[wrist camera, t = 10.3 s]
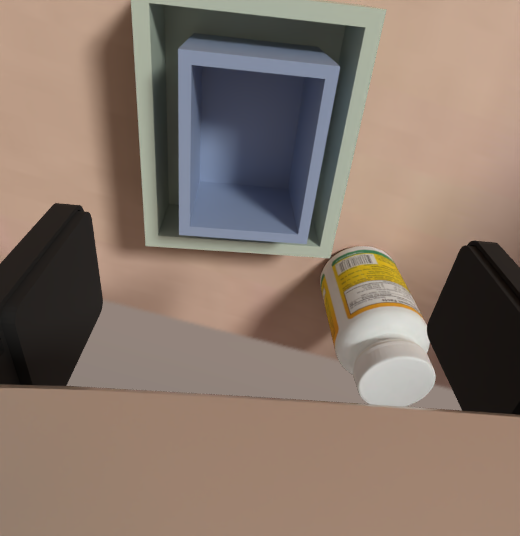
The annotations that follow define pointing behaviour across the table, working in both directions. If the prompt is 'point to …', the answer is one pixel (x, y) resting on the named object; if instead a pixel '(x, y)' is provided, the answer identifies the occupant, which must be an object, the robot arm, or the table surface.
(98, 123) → the table surface
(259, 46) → the small crate
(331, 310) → the supplement bottle
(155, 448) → the robot arm
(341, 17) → the large crate
